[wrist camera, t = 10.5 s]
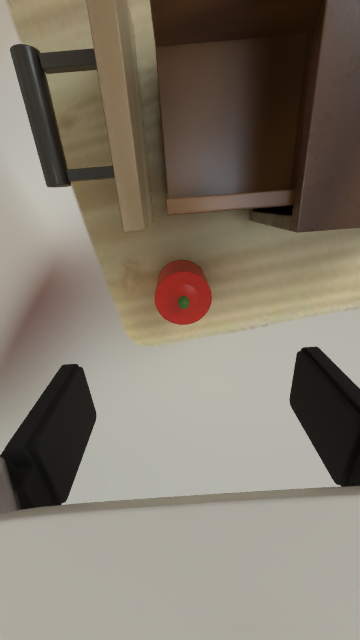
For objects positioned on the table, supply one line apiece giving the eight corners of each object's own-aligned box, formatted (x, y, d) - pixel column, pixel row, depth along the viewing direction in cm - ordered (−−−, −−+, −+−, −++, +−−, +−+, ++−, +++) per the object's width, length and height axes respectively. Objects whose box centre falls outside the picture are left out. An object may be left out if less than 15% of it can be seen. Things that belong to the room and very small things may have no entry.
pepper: (155, 261, 23) (150, 278, 18) (205, 258, 22) (213, 273, 18) (160, 307, 25) (157, 333, 20) (206, 304, 24) (214, 329, 20)
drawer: (83, 227, 20) (40, 238, 14) (39, 33, 15) (-62, -93, 9) (291, 210, 20) (348, 214, 14) (314, 9, 15) (423, -139, 9)
